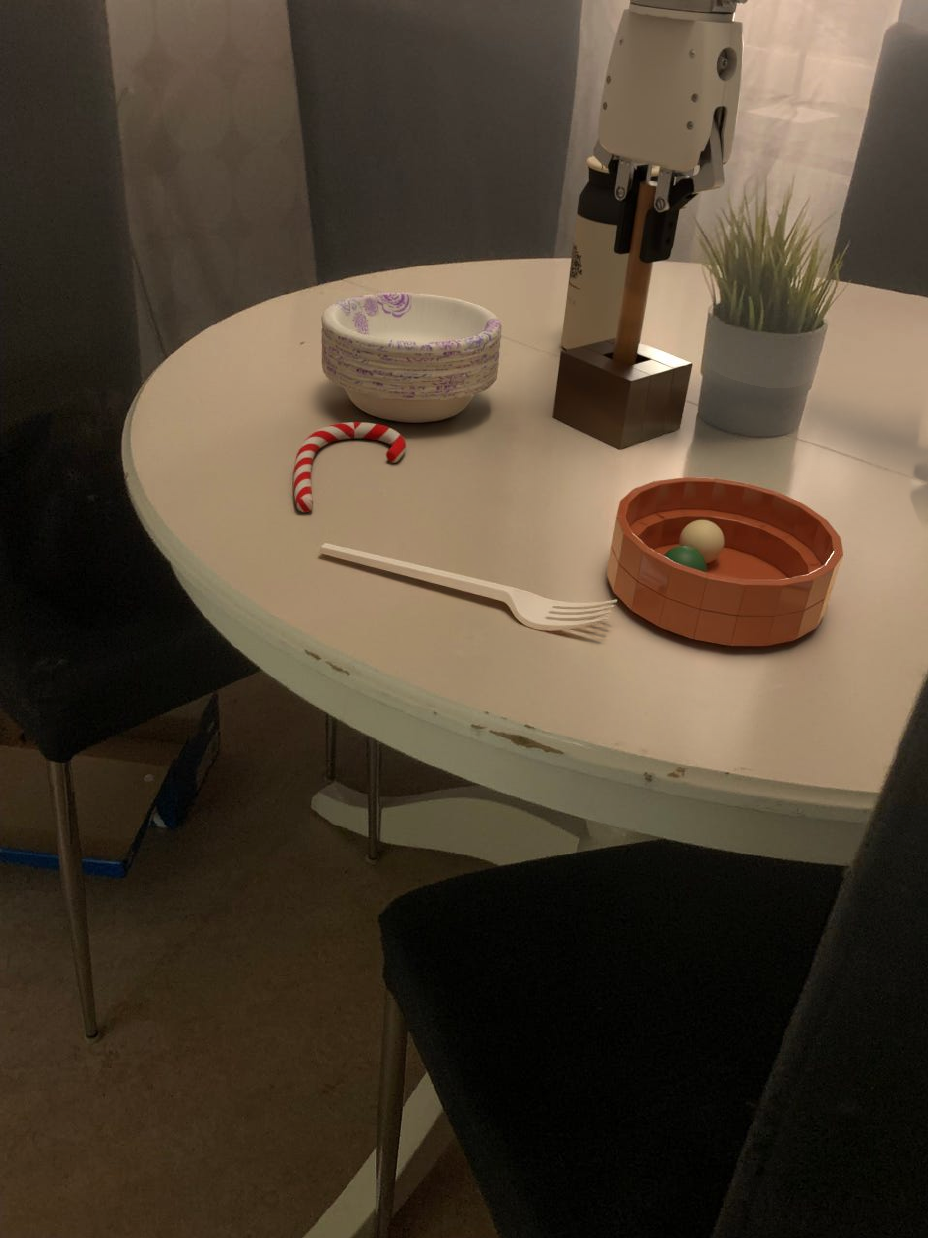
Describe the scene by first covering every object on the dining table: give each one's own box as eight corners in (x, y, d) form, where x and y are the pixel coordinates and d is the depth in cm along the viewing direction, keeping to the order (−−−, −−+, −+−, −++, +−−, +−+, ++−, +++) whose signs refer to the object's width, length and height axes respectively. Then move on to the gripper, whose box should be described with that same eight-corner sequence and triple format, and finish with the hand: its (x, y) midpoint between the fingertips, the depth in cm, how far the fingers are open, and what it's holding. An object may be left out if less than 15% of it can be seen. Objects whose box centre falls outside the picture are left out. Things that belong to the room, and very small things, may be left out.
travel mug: (639, 341, 114) (669, 159, 104) (636, 367, 107) (668, 175, 97) (564, 332, 114) (587, 150, 105) (556, 356, 108) (580, 165, 98)
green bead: (651, 573, 72) (653, 542, 69) (693, 562, 72) (697, 531, 70) (668, 606, 70) (671, 575, 68) (711, 594, 70) (716, 563, 68)
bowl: (695, 521, 80) (708, 460, 77) (864, 606, 72) (885, 541, 69) (562, 578, 72) (571, 511, 69) (735, 682, 63) (753, 610, 61)
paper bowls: (383, 360, 104) (386, 276, 99) (524, 399, 98) (533, 312, 93) (285, 408, 92) (283, 316, 88) (437, 455, 86) (443, 360, 82)
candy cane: (257, 491, 76) (323, 412, 89) (258, 507, 77) (323, 427, 89) (363, 508, 75) (415, 427, 88) (363, 525, 76) (414, 441, 88)
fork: (331, 544, 73) (331, 520, 72) (615, 621, 68) (619, 595, 67) (308, 566, 71) (308, 541, 70) (601, 647, 65) (605, 621, 64)
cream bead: (721, 544, 75) (682, 524, 75) (737, 524, 72) (697, 504, 72) (706, 578, 74) (666, 558, 74) (722, 559, 71) (681, 539, 71)
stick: (621, 374, 94) (653, 179, 85) (637, 381, 92) (671, 185, 84) (604, 377, 93) (634, 180, 84) (620, 385, 91) (652, 186, 83)
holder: (612, 398, 100) (622, 335, 96) (680, 428, 95) (693, 363, 91) (552, 417, 95) (560, 350, 92) (619, 449, 90) (631, 380, 87)
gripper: (808, 6, 74) (749, 276, 84) (634, -17, 84) (600, 227, 94) (743, 4, 70) (689, 289, 80) (567, -20, 79) (539, 237, 89)
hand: (641, 254), depth 87 cm, fingers closed on stick, 2 cm apart
